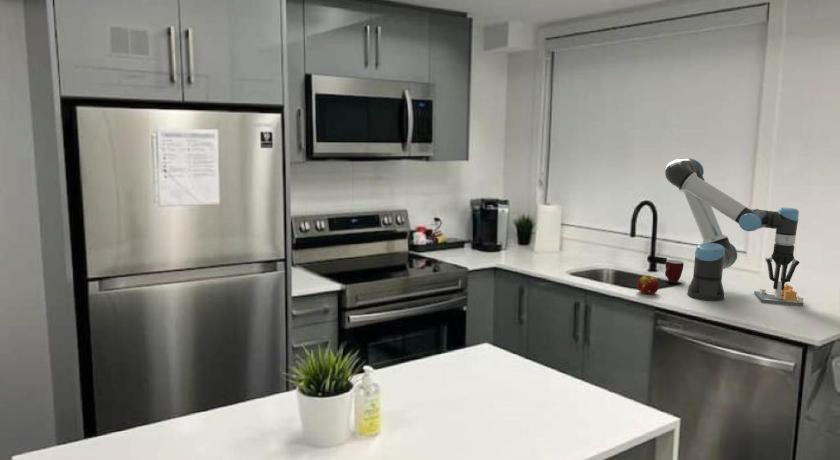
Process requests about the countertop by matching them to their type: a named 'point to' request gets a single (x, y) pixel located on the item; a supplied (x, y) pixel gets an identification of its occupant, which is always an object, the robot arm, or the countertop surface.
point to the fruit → (648, 284)
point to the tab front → (789, 295)
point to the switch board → (776, 298)
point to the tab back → (786, 288)
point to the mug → (673, 270)
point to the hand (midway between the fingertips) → (777, 296)
